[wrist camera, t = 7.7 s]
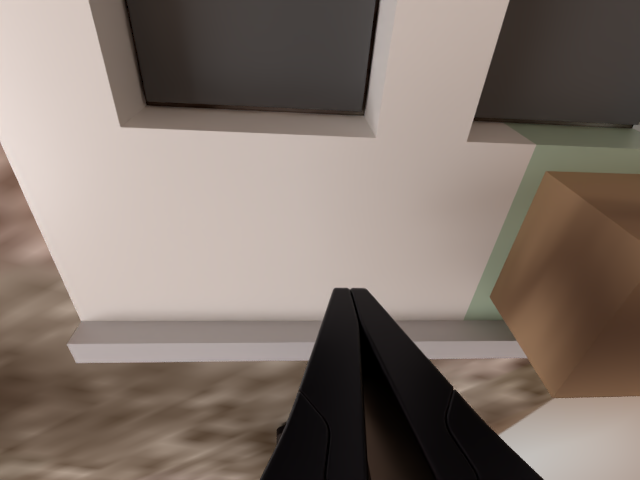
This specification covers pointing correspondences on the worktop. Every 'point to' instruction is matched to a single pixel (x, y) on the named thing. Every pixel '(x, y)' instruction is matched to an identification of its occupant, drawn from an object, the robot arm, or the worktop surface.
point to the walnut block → (578, 284)
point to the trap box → (301, 160)
